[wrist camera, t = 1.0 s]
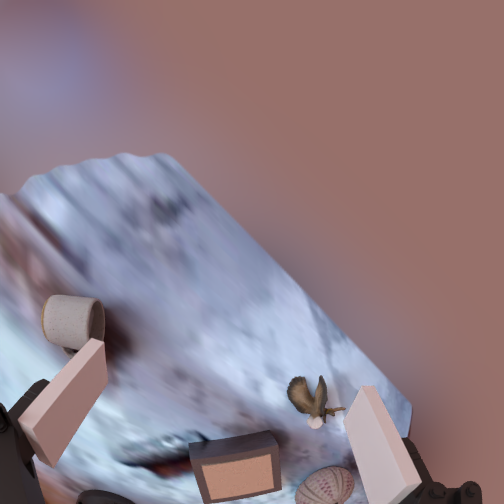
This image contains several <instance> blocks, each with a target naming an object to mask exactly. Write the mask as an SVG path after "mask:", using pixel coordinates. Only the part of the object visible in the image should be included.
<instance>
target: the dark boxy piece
mask: <svg viewBox="0 0 504 504" xmlns="http://www.w3.org/2000/svg"><path fill="white" fill-rule="evenodd" d="M189 453H190V461H191V464H192V468H193V471H194V474H195V478H196V481H197V484H198V487H199V490H200V493H201V496H202V499H203V502H204V504H211V503H219V502H226V501H232V500H238V499H244V498H249V497H254V496H258V495H263V494H267V493H271V492H275V491H279V490H282V485H281V472H280V459H279V446H278V443H277V442H276V440H275V438H274V437H273V435H272V434H271V432H270V430H267V431H262V432H258V433H253V434H248V435H242V436H237V437H231V438H225V439H218V440H211V441H203V442H194V443H189Z"/></svg>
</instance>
